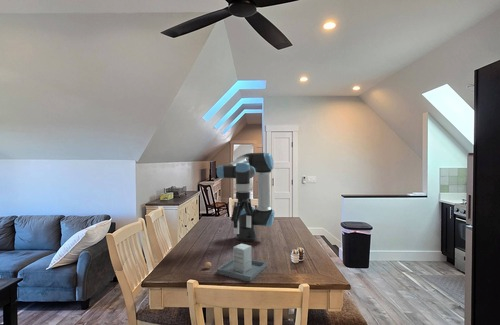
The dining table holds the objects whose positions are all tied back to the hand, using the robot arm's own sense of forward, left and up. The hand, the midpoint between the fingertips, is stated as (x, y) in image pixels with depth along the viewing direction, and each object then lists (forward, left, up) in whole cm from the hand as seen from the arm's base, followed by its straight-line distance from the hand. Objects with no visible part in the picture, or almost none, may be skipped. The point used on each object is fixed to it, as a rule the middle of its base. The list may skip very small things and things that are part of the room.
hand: (242, 230), depth 144 cm
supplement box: (0, 0, -21) cm, 21 cm away
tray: (0, 0, -22) cm, 22 cm away
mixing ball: (+7, -18, -22) cm, 29 cm away
